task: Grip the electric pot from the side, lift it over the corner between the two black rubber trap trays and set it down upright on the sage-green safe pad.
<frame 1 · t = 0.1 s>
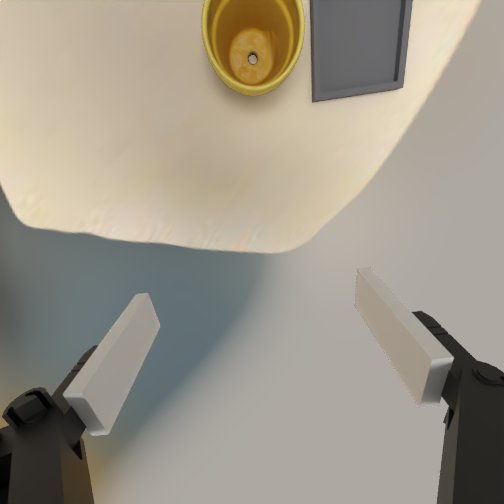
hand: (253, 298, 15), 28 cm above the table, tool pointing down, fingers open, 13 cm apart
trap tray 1: (356, 43, 32), on the table
plant pot: (252, 60, 33), on the table
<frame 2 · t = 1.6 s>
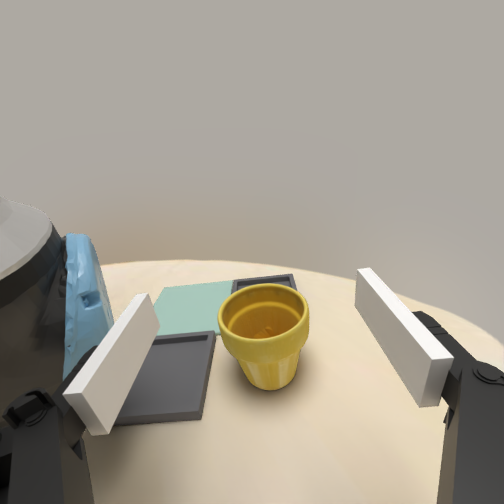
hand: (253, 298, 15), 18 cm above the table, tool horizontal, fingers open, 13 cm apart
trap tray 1: (264, 300, 44), on the table
safe pad: (190, 308, 45), on the table
plant pot: (270, 367, 31), on the table
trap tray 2: (166, 375, 32), on the table
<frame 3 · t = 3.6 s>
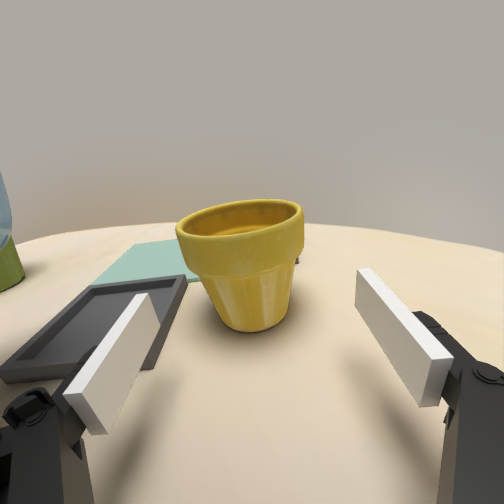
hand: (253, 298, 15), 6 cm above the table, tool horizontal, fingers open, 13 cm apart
safe pad: (161, 260, 37), on the table
plant pot: (253, 309, 24), on the table
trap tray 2: (116, 323, 24), on the table
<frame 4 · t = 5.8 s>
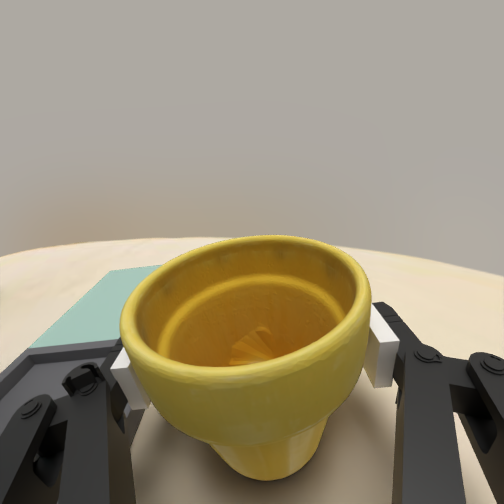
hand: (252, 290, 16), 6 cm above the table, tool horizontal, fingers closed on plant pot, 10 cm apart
safe pad: (139, 298, 28), on the table
plant pot: (265, 412, 15), on the table, touching gripper
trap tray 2: (49, 429, 15), on the table
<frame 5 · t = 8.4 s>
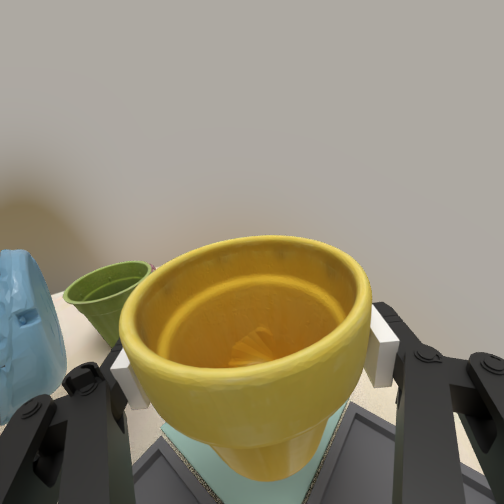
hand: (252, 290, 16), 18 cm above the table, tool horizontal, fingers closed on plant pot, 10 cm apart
safe pad: (257, 412, 27), on the table
plant pot: (266, 413, 15), point 12 cm above the table, touching gripper
plant pot 2: (135, 335, 41), on the table
when the fingers open (8 cm above the table, at t = 11.3 s): plant pot drops 1 cm, resting on safe pad.
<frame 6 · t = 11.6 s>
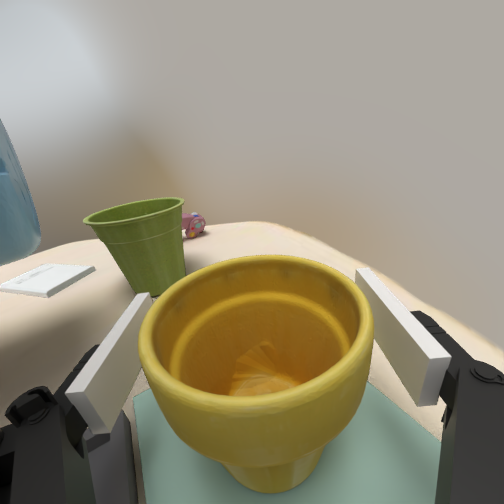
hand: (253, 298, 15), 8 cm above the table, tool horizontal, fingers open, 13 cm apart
white flat block: (51, 284, 41), on the table
safe pad: (269, 429, 16), on the table
plant pot: (268, 425, 15), resting on safe pad
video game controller: (184, 240, 51), on the table
plant pot 2: (162, 284, 35), on the table
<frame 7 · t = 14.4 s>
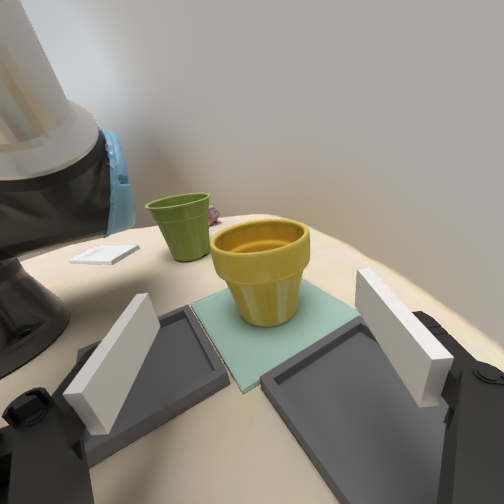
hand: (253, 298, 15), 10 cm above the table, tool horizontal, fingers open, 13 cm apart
white flat block: (107, 258, 55), on the table
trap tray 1: (372, 407, 18), on the table
safe pad: (268, 311, 29), on the table
plant pot: (268, 309, 29), resting on safe pad
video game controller: (203, 228, 65), on the table
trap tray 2: (149, 370, 23), on the table
plant pot 2: (192, 255, 49), on the table
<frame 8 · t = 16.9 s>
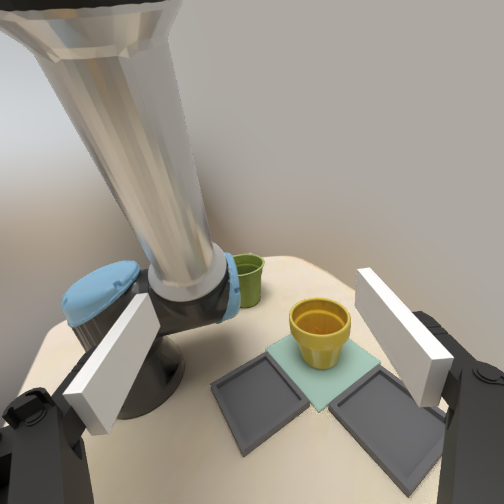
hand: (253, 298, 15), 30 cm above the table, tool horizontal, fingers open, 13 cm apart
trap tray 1: (389, 420, 35), on the table
safe pad: (319, 356, 46), on the table
plant pot: (319, 355, 46), resting on safe pad
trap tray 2: (257, 397, 40), on the table
plant pot 2: (247, 300, 66), on the table
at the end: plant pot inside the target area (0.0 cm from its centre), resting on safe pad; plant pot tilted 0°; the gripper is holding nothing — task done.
